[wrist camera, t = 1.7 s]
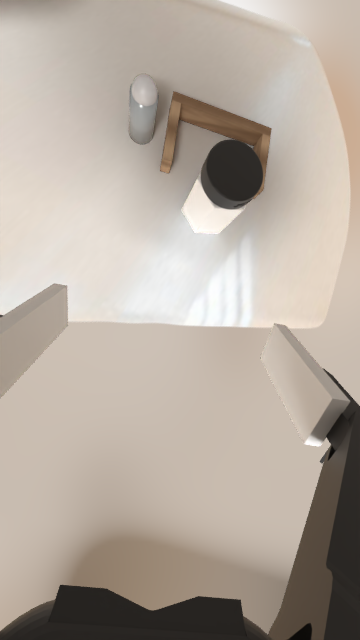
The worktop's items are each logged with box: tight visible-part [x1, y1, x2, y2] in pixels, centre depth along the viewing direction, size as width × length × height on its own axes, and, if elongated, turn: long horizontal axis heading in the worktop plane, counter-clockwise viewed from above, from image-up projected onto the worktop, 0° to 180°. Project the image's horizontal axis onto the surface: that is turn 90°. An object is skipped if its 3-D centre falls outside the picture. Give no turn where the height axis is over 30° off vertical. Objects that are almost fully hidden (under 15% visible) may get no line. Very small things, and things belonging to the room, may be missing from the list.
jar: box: [181, 140, 263, 234], centre depth 37 cm, size 9×8×12 cm
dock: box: [160, 92, 271, 199], centre depth 42 cm, size 12×18×3 cm, turn 82°
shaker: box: [129, 74, 159, 144], centre depth 36 cm, size 4×4×9 cm
